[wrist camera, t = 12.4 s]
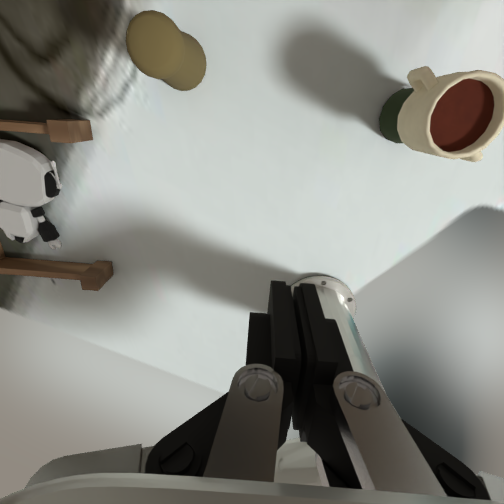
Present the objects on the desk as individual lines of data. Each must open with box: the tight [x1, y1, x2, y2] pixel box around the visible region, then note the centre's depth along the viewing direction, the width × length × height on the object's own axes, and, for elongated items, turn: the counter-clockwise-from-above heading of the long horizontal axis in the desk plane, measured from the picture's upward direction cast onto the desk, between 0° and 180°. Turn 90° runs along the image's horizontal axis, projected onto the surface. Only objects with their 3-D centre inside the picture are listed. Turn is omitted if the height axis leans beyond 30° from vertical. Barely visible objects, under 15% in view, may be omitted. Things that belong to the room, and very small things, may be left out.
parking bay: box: [0, 119, 114, 291], centre depth 41 cm, size 23×19×5 cm
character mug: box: [379, 66, 504, 162], centre depth 31 cm, size 11×7×13 cm, turn 44°
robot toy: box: [0, 139, 62, 249], centre depth 41 cm, size 12×4×15 cm
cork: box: [126, 10, 206, 91], centre depth 30 cm, size 6×6×11 cm
